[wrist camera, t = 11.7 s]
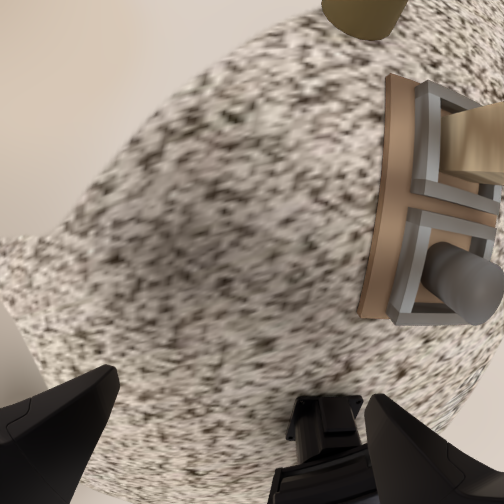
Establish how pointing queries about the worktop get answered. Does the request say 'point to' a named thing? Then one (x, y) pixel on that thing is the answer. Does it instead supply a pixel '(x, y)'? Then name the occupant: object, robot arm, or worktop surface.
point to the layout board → (429, 221)
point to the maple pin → (474, 145)
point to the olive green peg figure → (364, 16)
